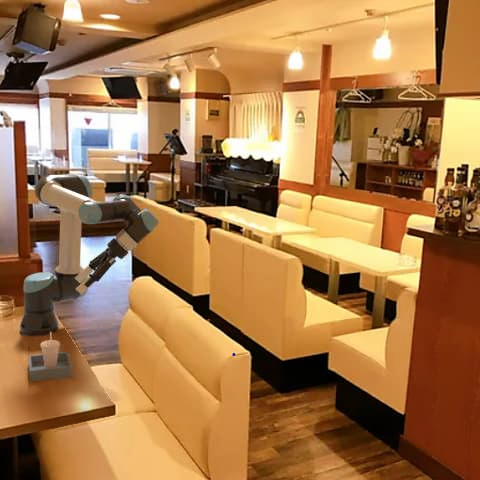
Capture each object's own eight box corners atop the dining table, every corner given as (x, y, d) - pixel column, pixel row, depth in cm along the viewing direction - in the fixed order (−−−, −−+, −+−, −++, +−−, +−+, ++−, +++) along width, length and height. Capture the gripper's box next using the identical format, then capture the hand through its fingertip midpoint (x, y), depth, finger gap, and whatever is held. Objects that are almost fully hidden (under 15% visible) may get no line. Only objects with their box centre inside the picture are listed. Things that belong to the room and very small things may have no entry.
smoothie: (49, 374, 194) (48, 336, 191) (37, 370, 197) (35, 332, 194) (64, 368, 199) (63, 330, 196) (52, 363, 203) (50, 326, 200)
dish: (28, 365, 202) (28, 355, 201) (68, 361, 207) (68, 351, 207) (29, 381, 190) (29, 371, 189) (72, 376, 195) (72, 366, 194)
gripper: (133, 260, 192) (87, 304, 191) (125, 244, 215) (84, 282, 214) (117, 245, 190) (70, 289, 188) (111, 230, 213) (69, 269, 211)
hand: (78, 286), depth 201 cm, fingers open, 13 cm apart
